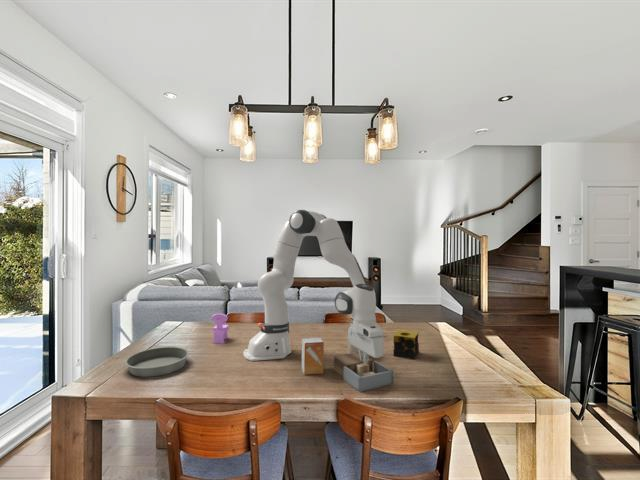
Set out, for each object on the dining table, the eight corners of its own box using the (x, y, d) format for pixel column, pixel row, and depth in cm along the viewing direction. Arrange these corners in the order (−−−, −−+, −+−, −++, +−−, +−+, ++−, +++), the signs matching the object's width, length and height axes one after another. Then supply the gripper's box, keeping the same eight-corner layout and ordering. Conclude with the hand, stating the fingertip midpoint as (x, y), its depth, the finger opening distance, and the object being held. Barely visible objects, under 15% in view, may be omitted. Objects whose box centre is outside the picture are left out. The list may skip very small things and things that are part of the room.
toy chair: (230, 338, 184) (230, 310, 184) (226, 343, 175) (226, 314, 175) (214, 338, 184) (214, 310, 184) (210, 343, 175) (210, 314, 175)
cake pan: (128, 360, 151) (128, 350, 151) (187, 353, 161) (187, 343, 161) (120, 383, 129) (120, 371, 129) (190, 373, 138) (190, 361, 138)
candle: (419, 352, 163) (419, 332, 163) (415, 360, 154) (415, 337, 153) (397, 349, 167) (397, 329, 167) (392, 356, 158) (393, 335, 158)
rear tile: (355, 376, 134) (359, 378, 132) (355, 364, 134) (359, 366, 132) (365, 374, 136) (369, 376, 134) (365, 362, 136) (369, 365, 134)
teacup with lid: (366, 358, 155) (366, 333, 155) (346, 357, 156) (346, 332, 156) (367, 349, 167) (367, 326, 166) (348, 348, 168) (349, 325, 168)
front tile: (362, 373, 130) (362, 380, 130) (369, 378, 126) (369, 384, 126) (371, 371, 132) (371, 378, 132) (378, 375, 128) (378, 382, 128)
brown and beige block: (346, 378, 133) (346, 364, 133) (334, 369, 142) (334, 356, 142) (372, 373, 138) (372, 360, 138) (358, 364, 148) (358, 351, 147)
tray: (359, 392, 122) (359, 378, 122) (343, 379, 132) (343, 366, 132) (393, 384, 128) (393, 371, 128) (375, 372, 139) (375, 360, 139)
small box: (304, 375, 136) (304, 342, 136) (301, 369, 142) (301, 338, 142) (323, 373, 138) (324, 341, 138) (320, 367, 144) (320, 336, 144)
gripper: (343, 321, 141) (343, 354, 141) (372, 334, 122) (372, 372, 122) (356, 319, 143) (356, 352, 144) (386, 332, 125) (386, 369, 125)
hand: (364, 361), depth 133 cm, fingers closed
